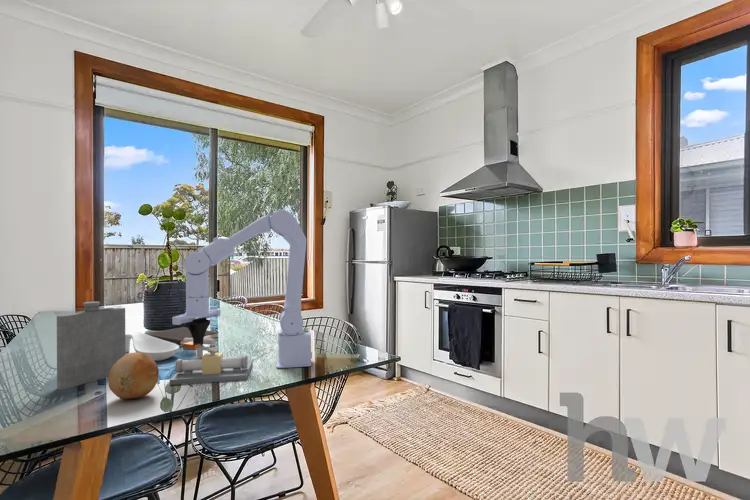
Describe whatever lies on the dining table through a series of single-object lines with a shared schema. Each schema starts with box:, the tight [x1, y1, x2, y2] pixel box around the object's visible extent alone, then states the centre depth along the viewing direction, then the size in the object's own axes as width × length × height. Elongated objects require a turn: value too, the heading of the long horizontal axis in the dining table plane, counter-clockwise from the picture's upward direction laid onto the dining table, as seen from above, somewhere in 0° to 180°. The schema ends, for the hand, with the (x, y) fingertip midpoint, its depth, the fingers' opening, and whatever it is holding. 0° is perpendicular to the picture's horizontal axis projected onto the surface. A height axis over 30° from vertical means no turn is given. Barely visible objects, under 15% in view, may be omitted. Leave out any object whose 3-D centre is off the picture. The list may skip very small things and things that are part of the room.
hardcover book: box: [145, 326, 219, 346], centre depth 154 cm, size 16×23×2 cm
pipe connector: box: [183, 335, 217, 359], centre depth 124 cm, size 10×10×10 cm
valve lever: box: [182, 342, 219, 353], centre depth 107 cm, size 11×2×2 cm, turn 64°
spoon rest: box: [125, 332, 180, 362], centre depth 126 cm, size 24×12×7 cm, turn 65°
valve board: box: [169, 352, 254, 386], centre depth 107 cm, size 18×14×6 cm
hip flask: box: [56, 301, 127, 391], centre depth 103 cm, size 16×4×20 cm, turn 154°
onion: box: [107, 352, 160, 400], centre depth 89 cm, size 10×10×10 cm
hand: (198, 346), depth 109 cm, fingers closed, pressing on valve lever
